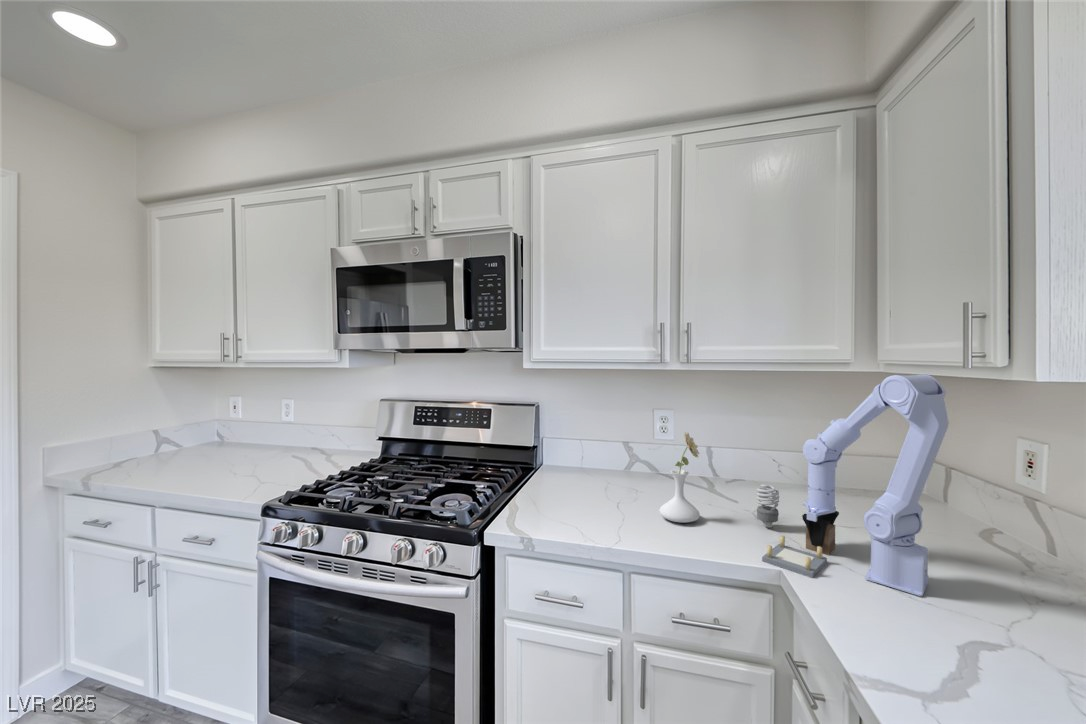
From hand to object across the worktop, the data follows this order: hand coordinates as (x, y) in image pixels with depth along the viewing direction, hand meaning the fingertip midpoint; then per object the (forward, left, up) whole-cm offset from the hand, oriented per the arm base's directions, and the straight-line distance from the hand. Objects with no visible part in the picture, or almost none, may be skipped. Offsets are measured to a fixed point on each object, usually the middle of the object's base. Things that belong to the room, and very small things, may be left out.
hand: (820, 542), depth 110 cm
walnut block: (0, 0, -2) cm, 2 cm away
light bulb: (+14, -4, -2) cm, 15 cm away
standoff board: (+2, +12, -2) cm, 12 cm away
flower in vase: (+34, +7, -2) cm, 35 cm away
